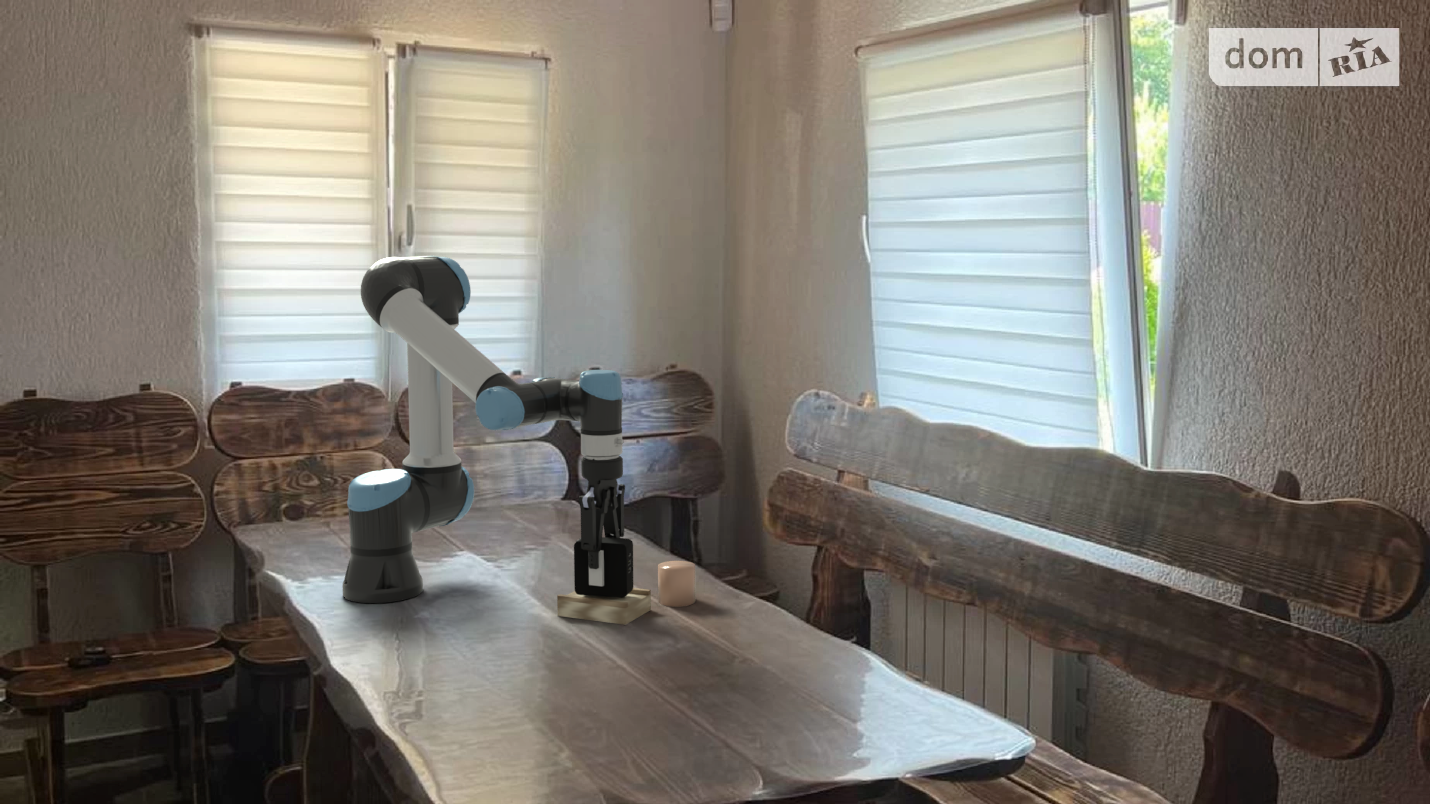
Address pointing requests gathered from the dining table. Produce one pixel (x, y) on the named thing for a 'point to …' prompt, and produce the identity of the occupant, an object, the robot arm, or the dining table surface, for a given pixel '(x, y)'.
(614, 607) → the stand
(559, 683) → the dining table surface
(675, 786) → the dining table surface
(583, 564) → the electronic device
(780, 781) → the dining table surface
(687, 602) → the peach rounded cylinder
